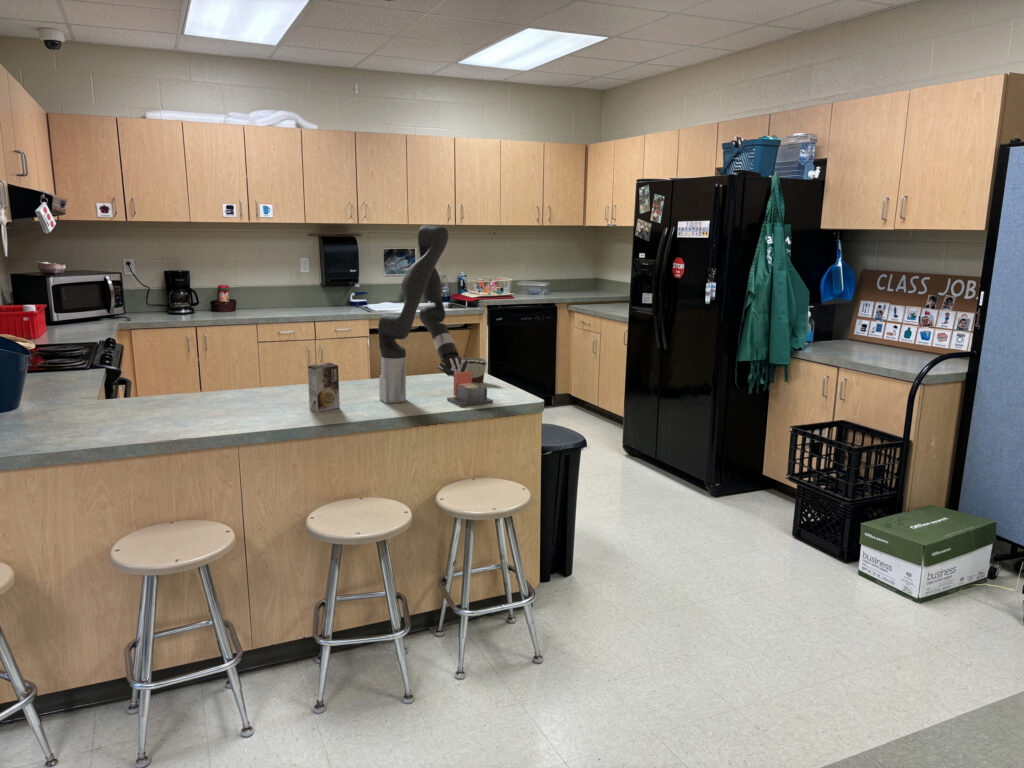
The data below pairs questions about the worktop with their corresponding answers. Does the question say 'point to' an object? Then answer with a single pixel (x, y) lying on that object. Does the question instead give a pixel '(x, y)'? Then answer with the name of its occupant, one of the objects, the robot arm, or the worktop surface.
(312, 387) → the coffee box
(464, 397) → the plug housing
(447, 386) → the worktop surface
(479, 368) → the food container
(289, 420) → the worktop surface
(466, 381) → the red plug
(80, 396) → the worktop surface
